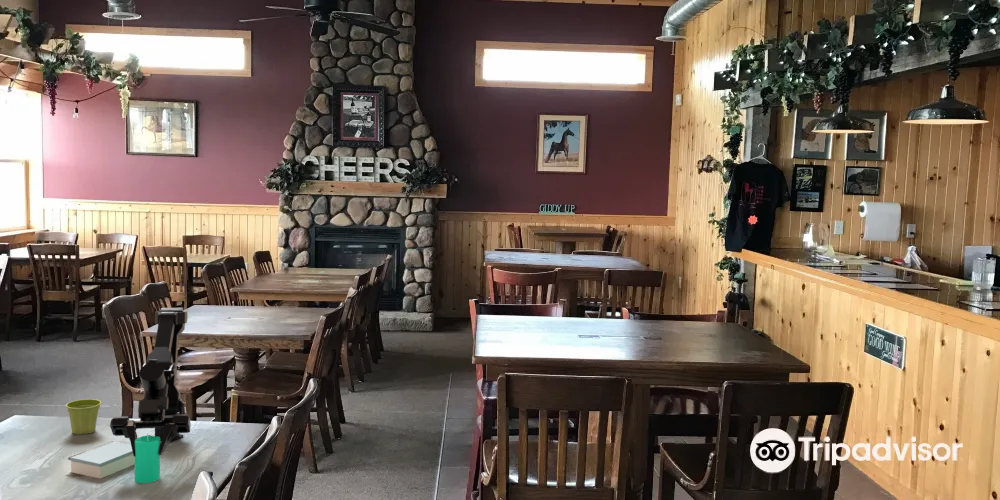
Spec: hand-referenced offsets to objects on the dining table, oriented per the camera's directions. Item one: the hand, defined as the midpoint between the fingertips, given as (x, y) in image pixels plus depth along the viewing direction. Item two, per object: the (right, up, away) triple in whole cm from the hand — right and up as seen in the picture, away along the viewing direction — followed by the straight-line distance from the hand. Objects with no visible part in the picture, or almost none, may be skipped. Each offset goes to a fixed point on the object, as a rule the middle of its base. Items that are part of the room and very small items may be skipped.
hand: (147, 455), depth 196 cm
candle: (-1, -7, +2) cm, 7 cm away
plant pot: (-35, -3, +35) cm, 50 cm away
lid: (-15, -2, +9) cm, 18 cm away
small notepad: (-15, -5, +9) cm, 18 cm away
